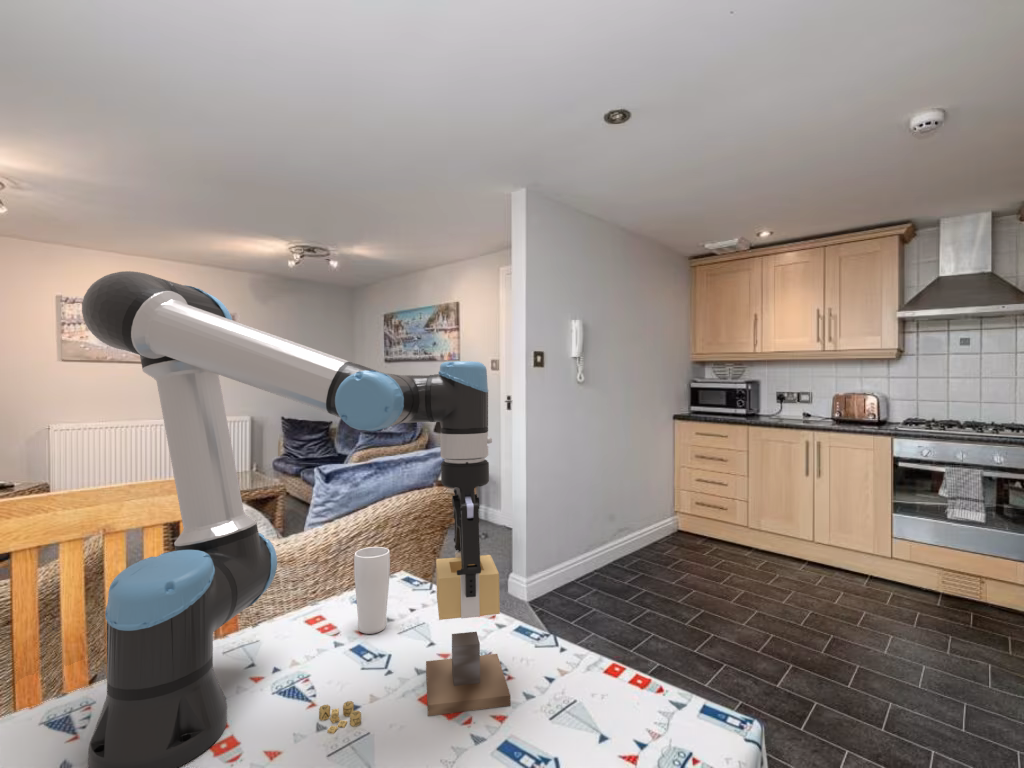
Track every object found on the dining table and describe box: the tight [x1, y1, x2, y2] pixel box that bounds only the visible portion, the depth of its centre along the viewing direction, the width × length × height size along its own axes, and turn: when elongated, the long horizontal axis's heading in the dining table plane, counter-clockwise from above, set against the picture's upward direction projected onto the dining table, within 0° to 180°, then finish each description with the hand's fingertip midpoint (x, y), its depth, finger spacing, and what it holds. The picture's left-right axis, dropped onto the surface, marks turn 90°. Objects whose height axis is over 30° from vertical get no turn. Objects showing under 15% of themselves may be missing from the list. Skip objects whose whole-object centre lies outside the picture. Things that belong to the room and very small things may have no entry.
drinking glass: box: [353, 546, 391, 635], centre depth 99 cm, size 7×7×15 cm
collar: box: [435, 554, 501, 621], centre depth 79 cm, size 9×9×6 cm
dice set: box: [318, 700, 362, 735], centre depth 71 cm, size 5×5×2 cm
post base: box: [425, 631, 511, 717], centre depth 79 cm, size 12×12×8 cm
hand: (466, 602), depth 79 cm, fingers closed on collar, 9 cm apart
